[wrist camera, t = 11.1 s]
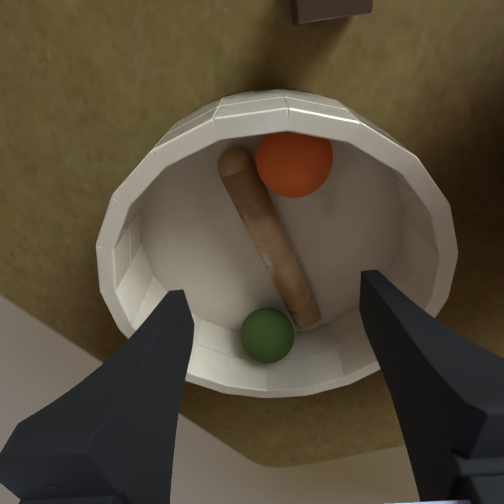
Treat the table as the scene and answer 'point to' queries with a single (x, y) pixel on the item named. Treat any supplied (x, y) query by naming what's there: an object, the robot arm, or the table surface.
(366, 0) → the stick rest
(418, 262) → the cream shallow round container
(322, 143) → the orange ball
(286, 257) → the stick
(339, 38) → the table surface
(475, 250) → the table surface
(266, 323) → the green ball
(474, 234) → the table surface
